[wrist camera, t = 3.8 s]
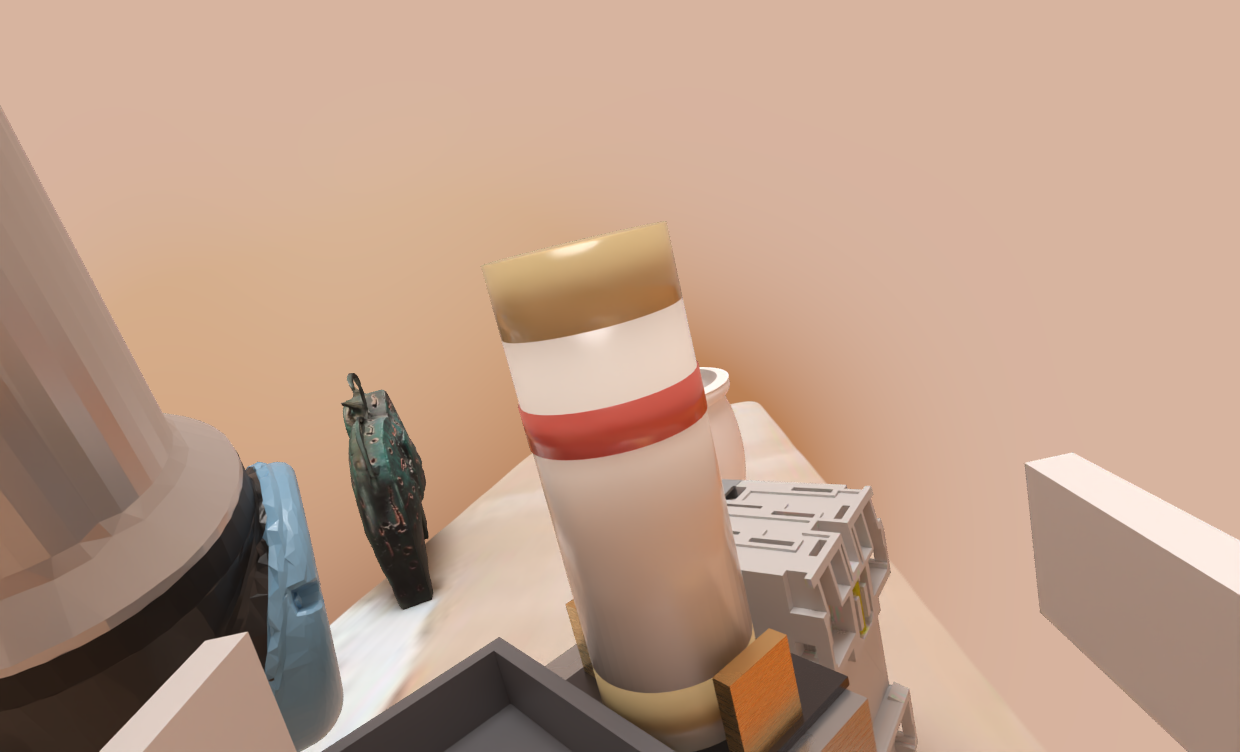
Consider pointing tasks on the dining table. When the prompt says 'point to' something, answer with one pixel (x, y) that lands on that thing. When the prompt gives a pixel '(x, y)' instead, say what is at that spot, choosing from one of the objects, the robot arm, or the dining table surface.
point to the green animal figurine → (389, 491)
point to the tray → (498, 713)
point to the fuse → (628, 472)
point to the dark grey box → (762, 698)
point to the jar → (723, 424)
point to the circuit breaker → (822, 586)
